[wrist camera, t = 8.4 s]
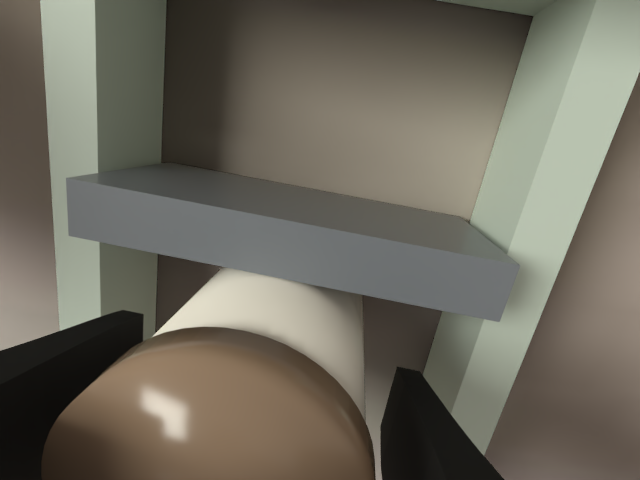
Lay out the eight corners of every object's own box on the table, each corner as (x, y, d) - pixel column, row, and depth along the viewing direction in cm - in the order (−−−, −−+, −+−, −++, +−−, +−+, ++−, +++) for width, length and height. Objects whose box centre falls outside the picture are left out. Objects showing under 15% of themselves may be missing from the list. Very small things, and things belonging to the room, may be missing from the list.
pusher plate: (448, 254, 13) (499, 322, 9) (167, 200, 14) (68, 235, 9) (460, 216, 13) (520, 265, 8) (169, 162, 13) (66, 178, 9)
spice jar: (349, 362, 15) (339, 660, 7) (221, 334, 16) (49, 585, 7) (380, 237, 14) (418, 418, 5) (235, 208, 14) (29, 332, 5)
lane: (431, 457, 16) (481, 678, 10) (123, 389, 17) (-26, 552, 10) (601, -32, 11) (1011, -312, 4) (124, -105, 11) (-207, -446, 5)
